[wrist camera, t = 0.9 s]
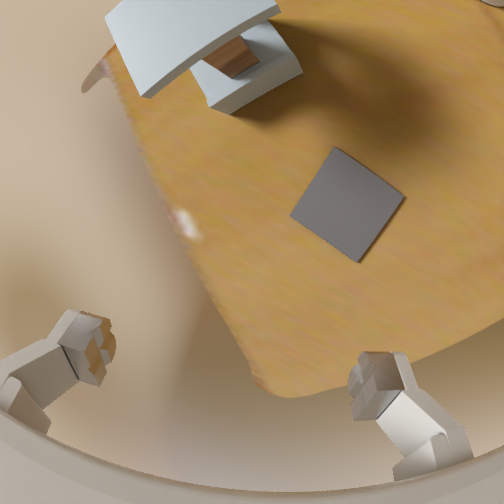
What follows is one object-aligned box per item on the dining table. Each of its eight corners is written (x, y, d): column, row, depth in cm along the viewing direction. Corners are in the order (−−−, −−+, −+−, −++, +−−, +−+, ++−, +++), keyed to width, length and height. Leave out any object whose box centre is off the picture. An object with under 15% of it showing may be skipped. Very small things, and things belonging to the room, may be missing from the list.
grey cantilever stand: (310, 76, 36) (277, 4, 16) (229, 121, 41) (140, 96, 22) (266, 17, 34) (209, -62, 15) (194, 61, 40) (104, 17, 20)
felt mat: (334, 146, 38) (334, 146, 37) (403, 196, 37) (404, 196, 36) (290, 215, 43) (289, 215, 42) (356, 261, 42) (356, 262, 41)
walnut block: (260, 61, 32) (232, 32, 23) (231, 79, 34) (196, 56, 24) (244, 38, 31) (213, 7, 22) (216, 56, 33) (179, 30, 24)
